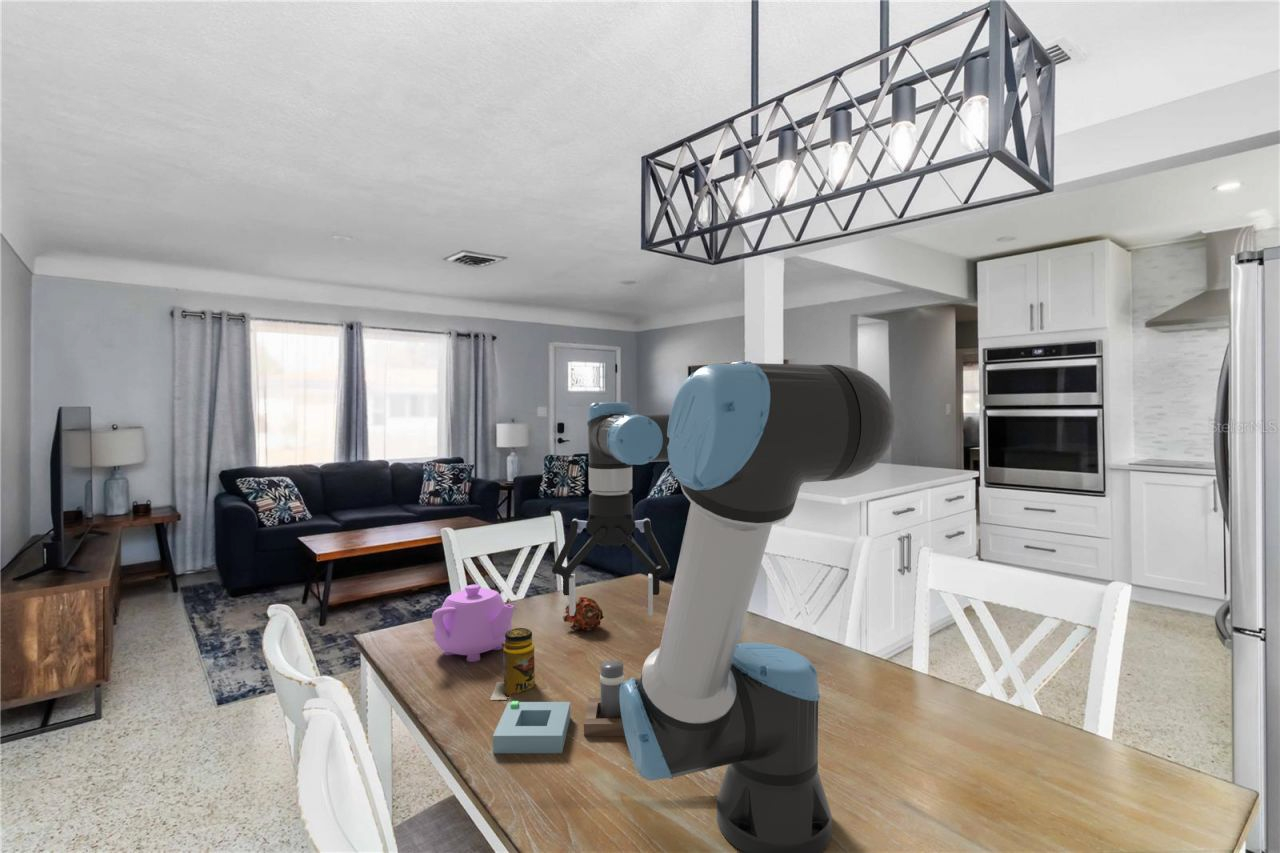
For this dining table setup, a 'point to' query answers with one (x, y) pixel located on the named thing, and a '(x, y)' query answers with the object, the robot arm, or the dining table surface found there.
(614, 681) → the plug
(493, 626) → the teapot
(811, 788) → the robot arm
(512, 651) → the condiment
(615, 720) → the wooden square frame
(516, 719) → the port
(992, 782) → the dining table surface
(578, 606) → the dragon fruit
